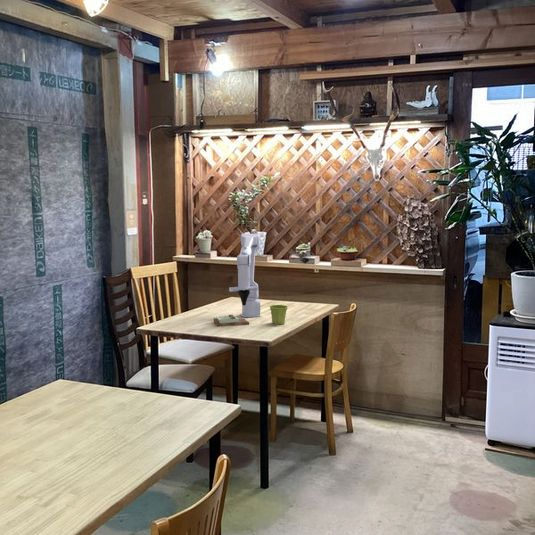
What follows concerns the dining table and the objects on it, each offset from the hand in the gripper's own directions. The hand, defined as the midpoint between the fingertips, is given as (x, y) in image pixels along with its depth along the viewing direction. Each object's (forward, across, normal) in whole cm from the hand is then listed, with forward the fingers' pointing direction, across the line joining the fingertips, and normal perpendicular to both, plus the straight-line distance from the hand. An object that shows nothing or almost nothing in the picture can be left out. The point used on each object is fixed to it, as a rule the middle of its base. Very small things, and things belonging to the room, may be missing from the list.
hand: (243, 305), depth 309 cm
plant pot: (+9, +16, -6) cm, 20 cm away
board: (+9, -6, 0) cm, 11 cm away
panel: (+8, -9, 0) cm, 12 cm away
